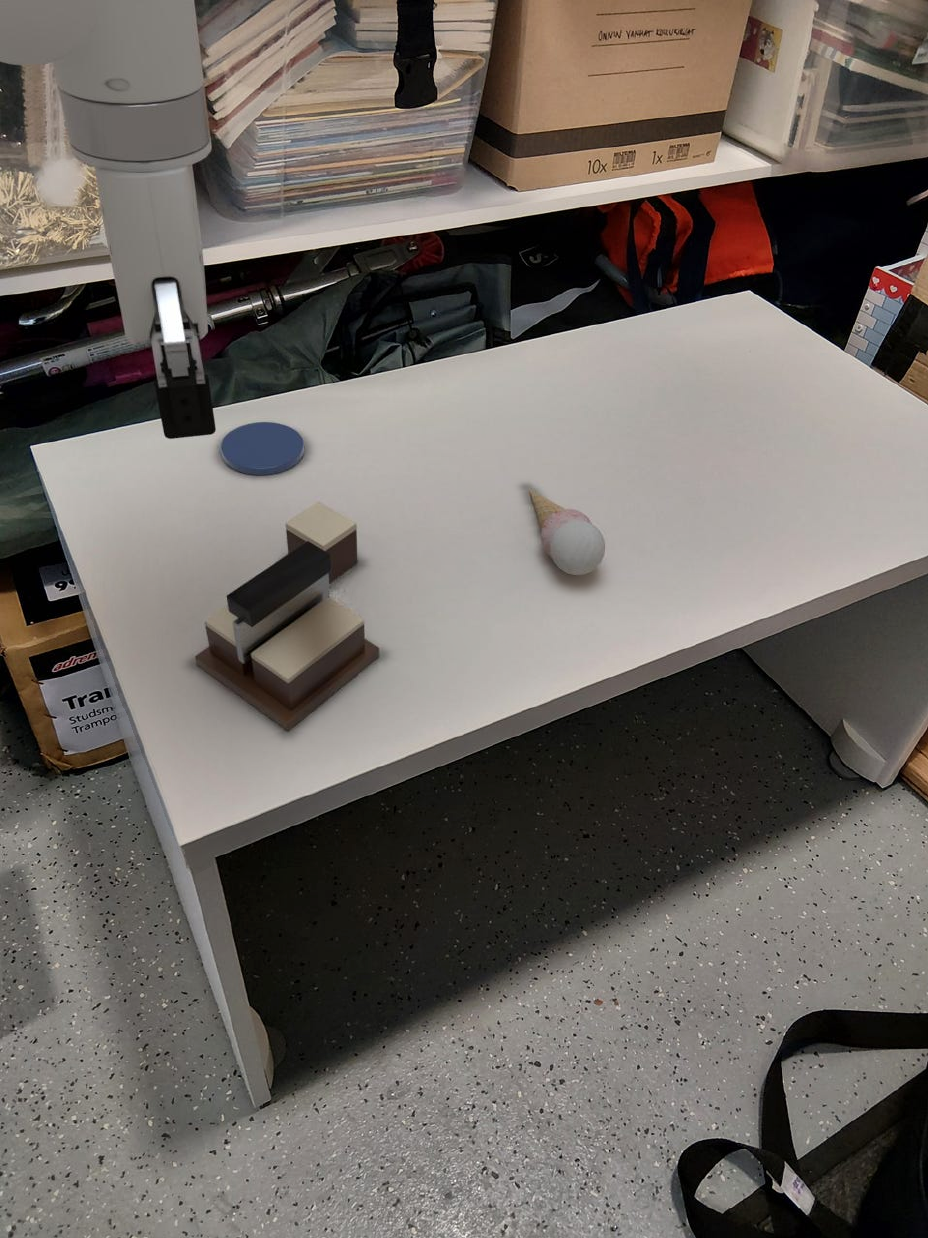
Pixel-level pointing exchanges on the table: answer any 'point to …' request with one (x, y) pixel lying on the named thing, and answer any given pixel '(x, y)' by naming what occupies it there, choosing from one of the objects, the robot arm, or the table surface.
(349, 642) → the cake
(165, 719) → the table surface
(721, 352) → the table surface
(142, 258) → the robot arm
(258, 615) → the black and silver bar
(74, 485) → the table surface
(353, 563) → the two-tone brown cube
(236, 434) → the plate
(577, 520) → the ice cream cone
